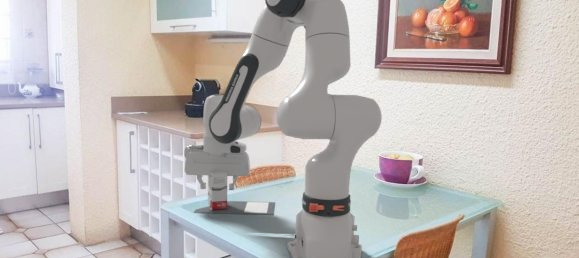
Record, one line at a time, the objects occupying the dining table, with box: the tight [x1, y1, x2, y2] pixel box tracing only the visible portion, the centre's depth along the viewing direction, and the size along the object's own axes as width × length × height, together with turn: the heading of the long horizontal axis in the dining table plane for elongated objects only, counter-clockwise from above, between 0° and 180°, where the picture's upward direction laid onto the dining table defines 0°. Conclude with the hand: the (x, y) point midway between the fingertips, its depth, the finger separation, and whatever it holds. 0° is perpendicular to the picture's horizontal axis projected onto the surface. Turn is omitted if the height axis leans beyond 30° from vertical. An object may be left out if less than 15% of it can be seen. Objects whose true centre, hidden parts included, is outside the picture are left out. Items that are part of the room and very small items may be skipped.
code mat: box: [193, 200, 276, 216], centre depth 145 cm, size 13×24×1 cm, turn 89°
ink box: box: [207, 171, 228, 210], centre depth 145 cm, size 9×5×12 cm, turn 20°
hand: (217, 189), depth 145 cm, fingers open, 8 cm apart
